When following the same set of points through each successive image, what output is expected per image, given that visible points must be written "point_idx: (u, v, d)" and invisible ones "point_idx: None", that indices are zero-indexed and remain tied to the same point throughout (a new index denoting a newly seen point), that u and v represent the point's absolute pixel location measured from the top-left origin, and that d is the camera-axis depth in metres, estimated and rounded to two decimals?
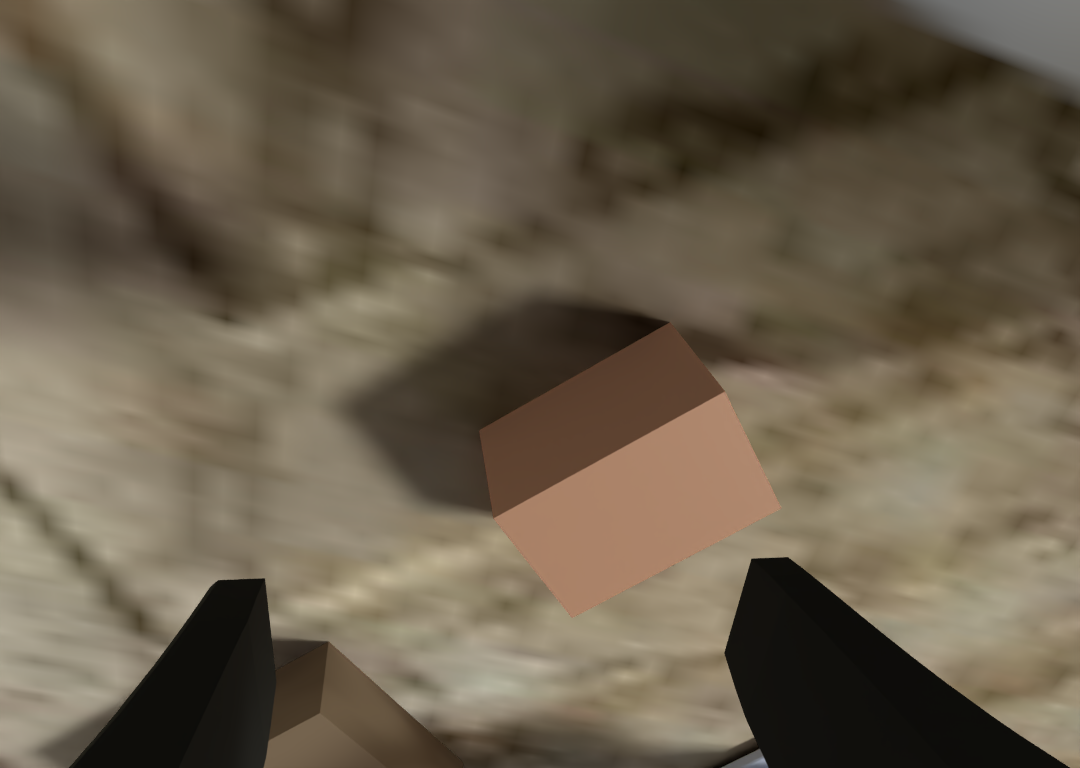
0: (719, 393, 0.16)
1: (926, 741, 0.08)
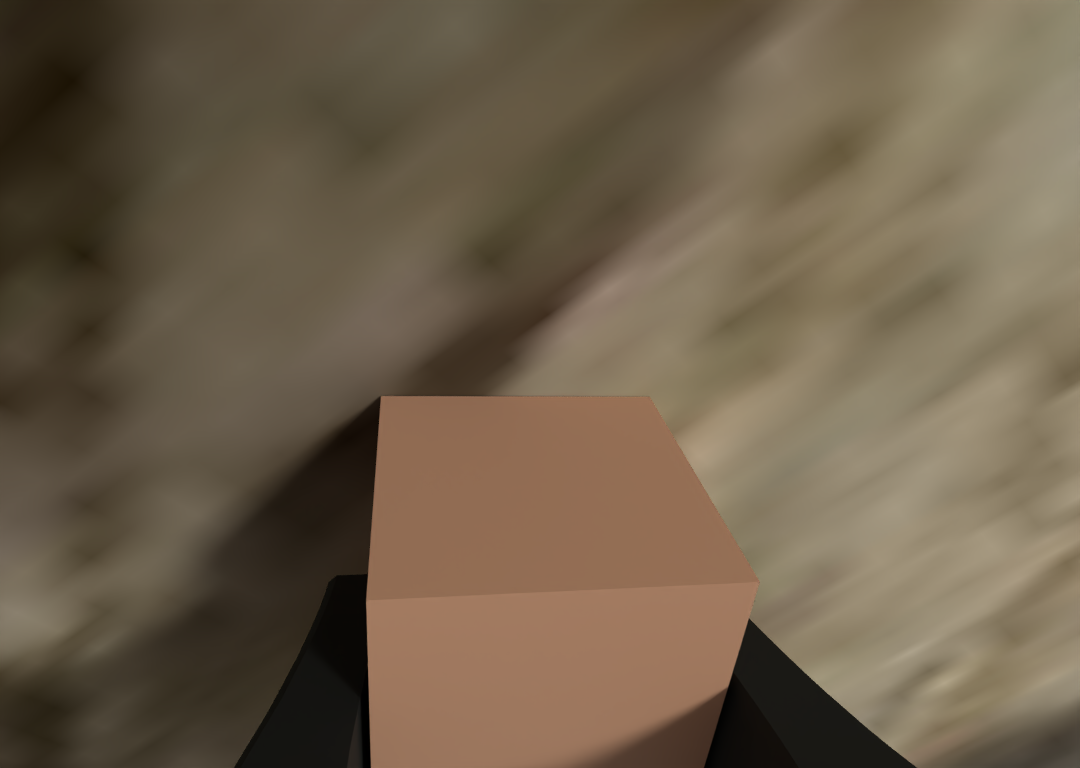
0: (366, 607, 0.07)
1: (792, 754, 0.07)
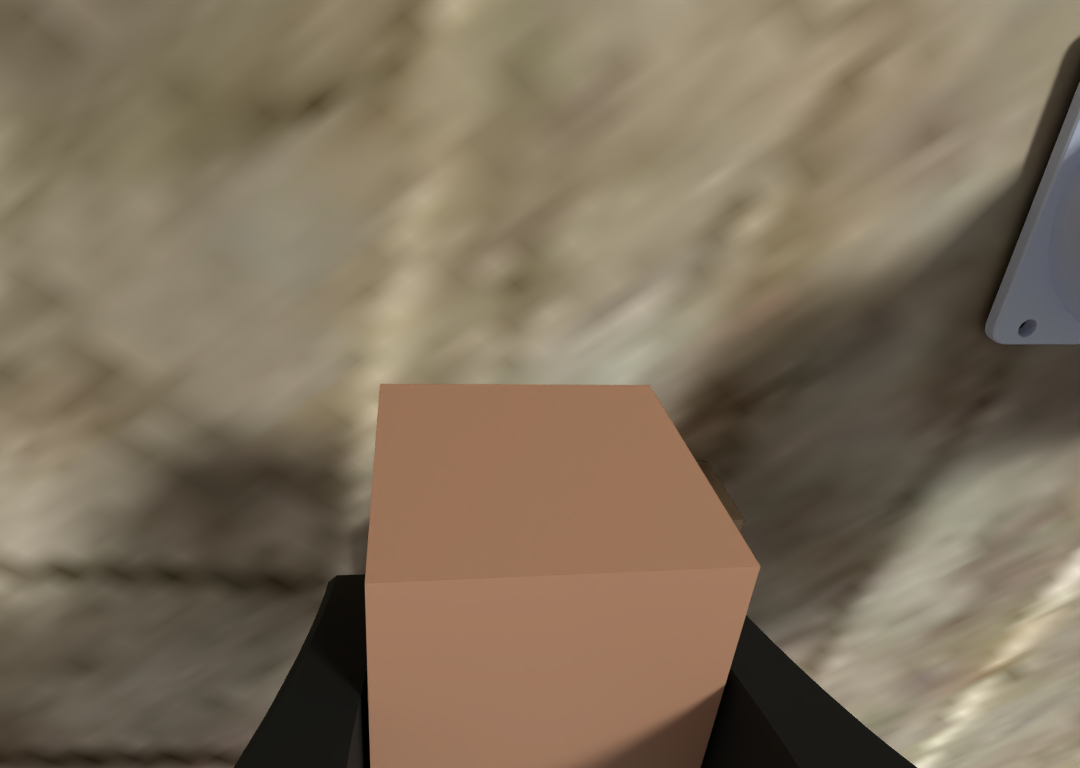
0: None
1: (792, 754, 0.07)
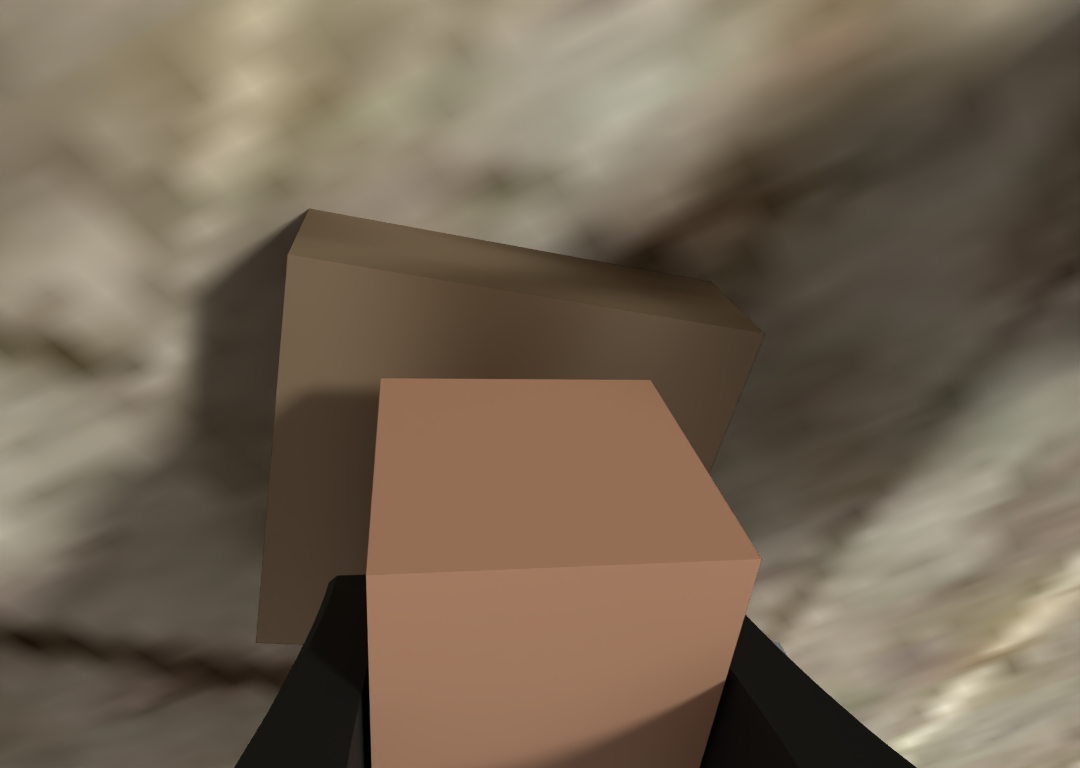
0: (366, 583, 0.07)
1: (792, 754, 0.07)
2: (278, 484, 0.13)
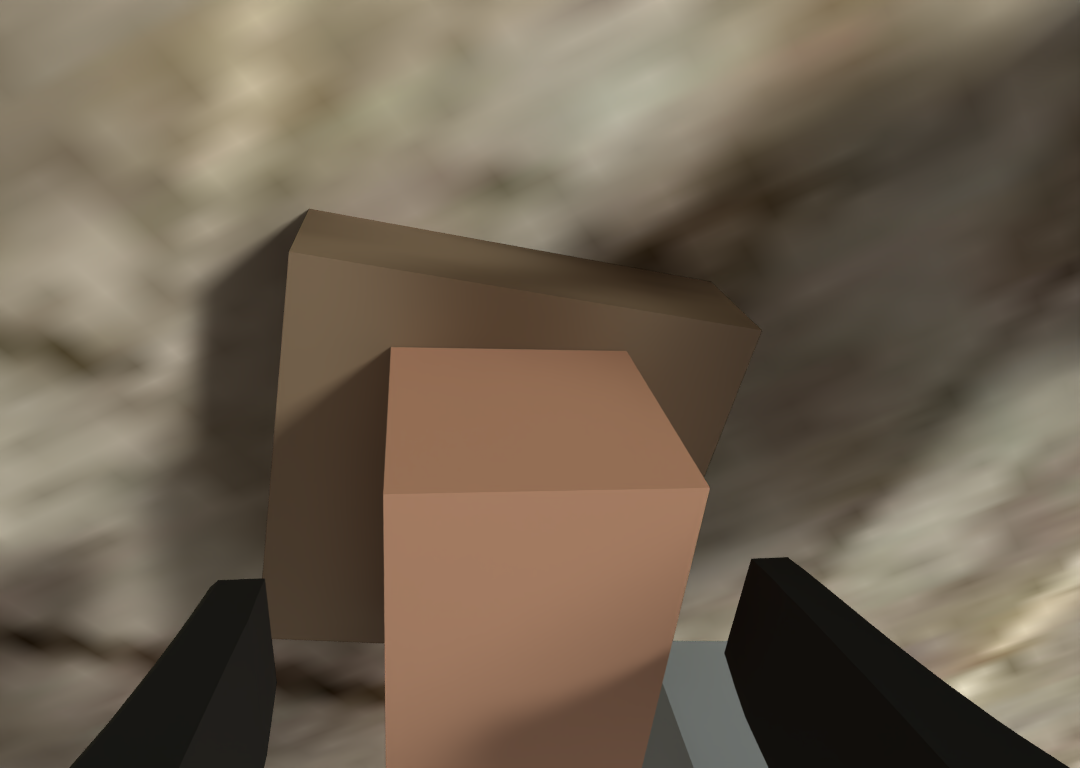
0: (383, 501, 0.08)
1: (926, 741, 0.08)
2: (279, 480, 0.13)
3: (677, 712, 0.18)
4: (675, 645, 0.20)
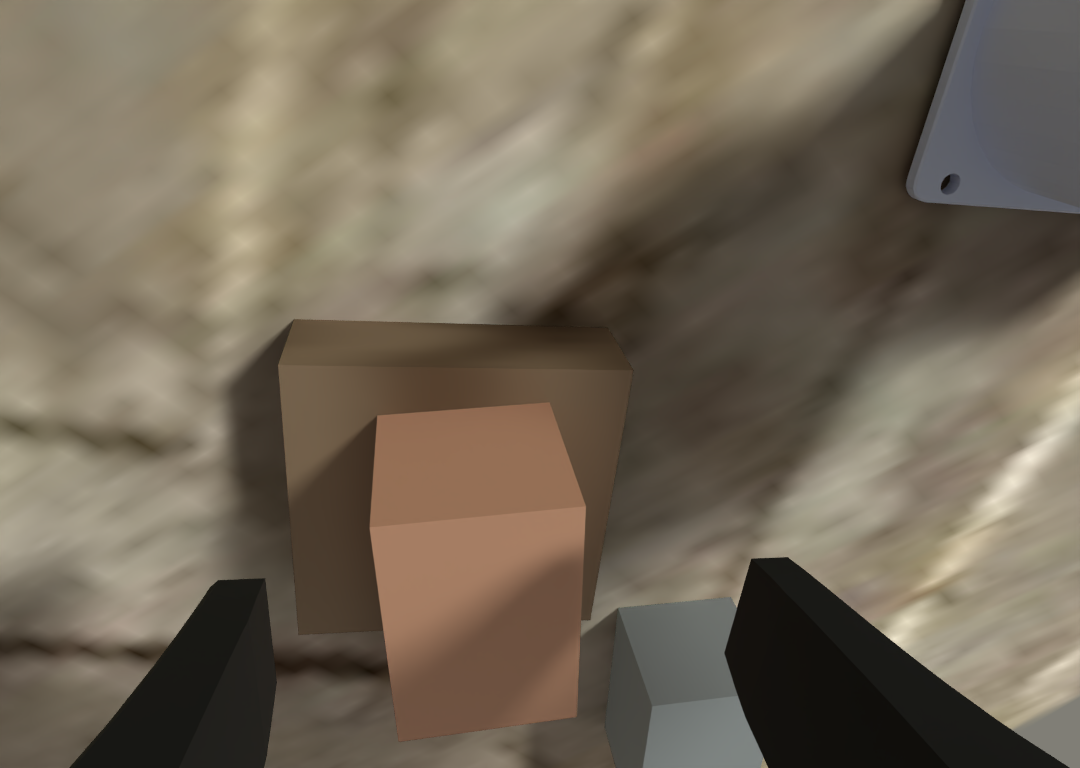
0: (370, 531, 0.13)
1: (926, 742, 0.08)
2: (296, 519, 0.18)
3: (640, 662, 0.22)
4: (641, 609, 0.24)
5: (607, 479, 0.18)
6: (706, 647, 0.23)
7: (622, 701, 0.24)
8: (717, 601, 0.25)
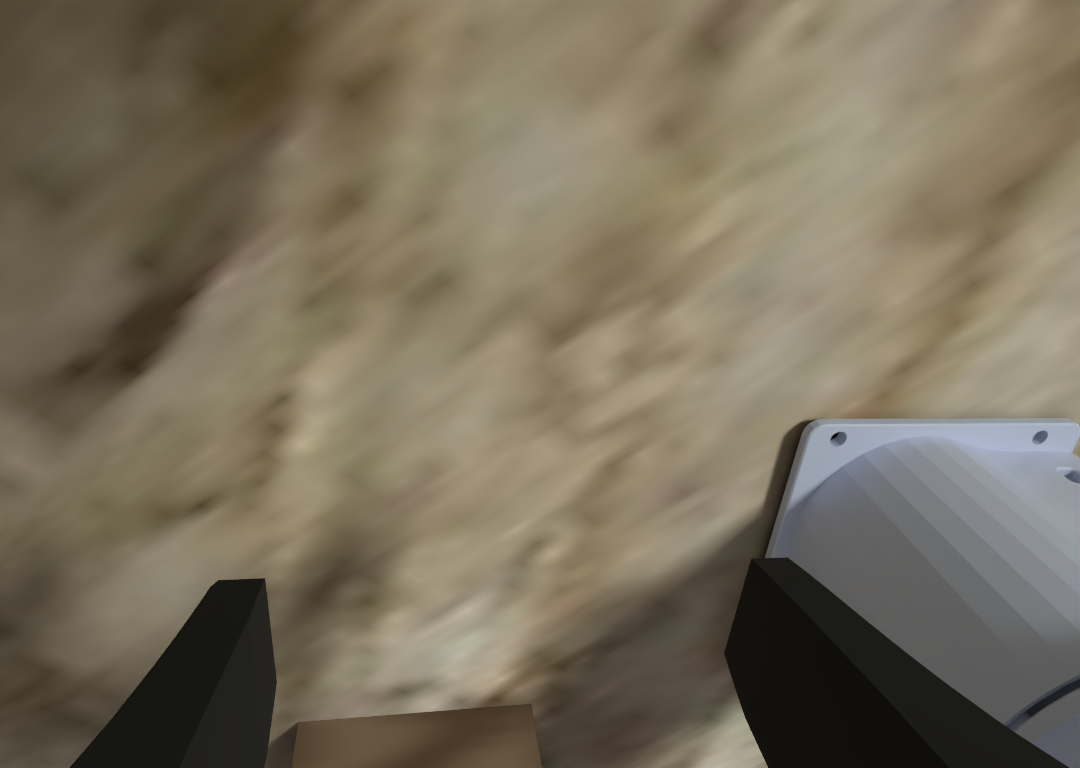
0: None
1: (926, 741, 0.08)
2: None
3: None
4: None
5: None
6: None
7: None
8: None
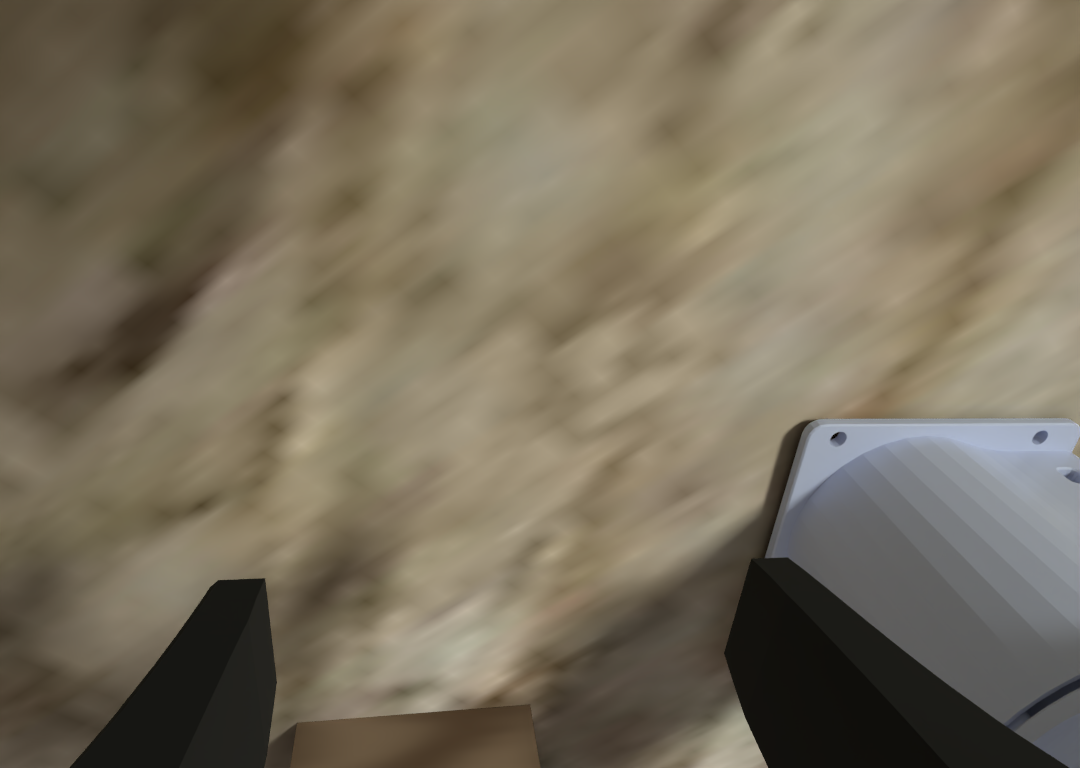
0: None
1: (926, 741, 0.08)
2: None
3: None
4: None
5: None
6: None
7: None
8: None
